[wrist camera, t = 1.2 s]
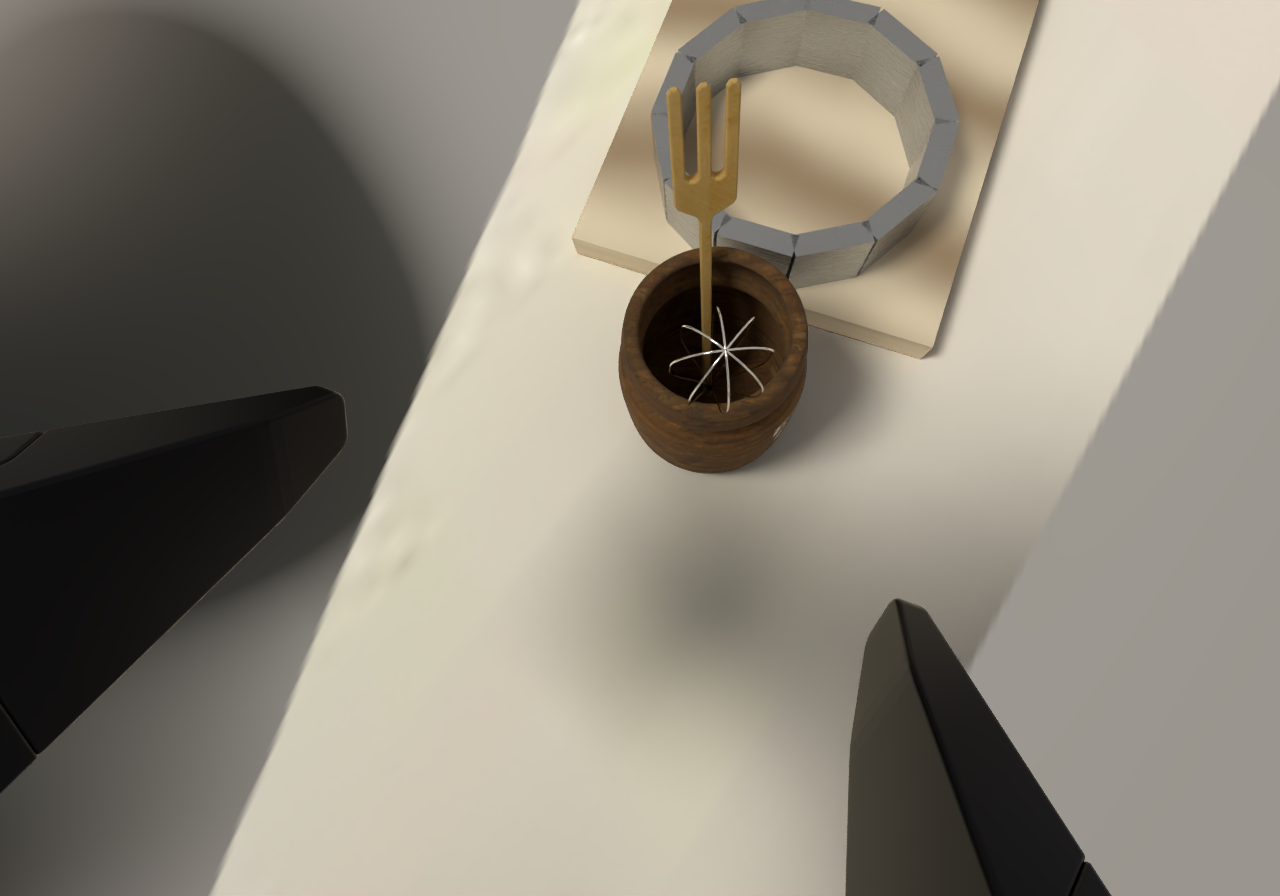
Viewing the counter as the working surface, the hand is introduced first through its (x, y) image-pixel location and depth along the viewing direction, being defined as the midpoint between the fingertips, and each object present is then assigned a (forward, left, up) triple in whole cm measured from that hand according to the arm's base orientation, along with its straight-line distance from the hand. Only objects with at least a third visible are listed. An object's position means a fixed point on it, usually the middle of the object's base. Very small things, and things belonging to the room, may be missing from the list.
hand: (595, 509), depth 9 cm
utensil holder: (+6, 0, -14) cm, 15 cm away
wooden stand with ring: (+21, 0, -13) cm, 25 cm away
